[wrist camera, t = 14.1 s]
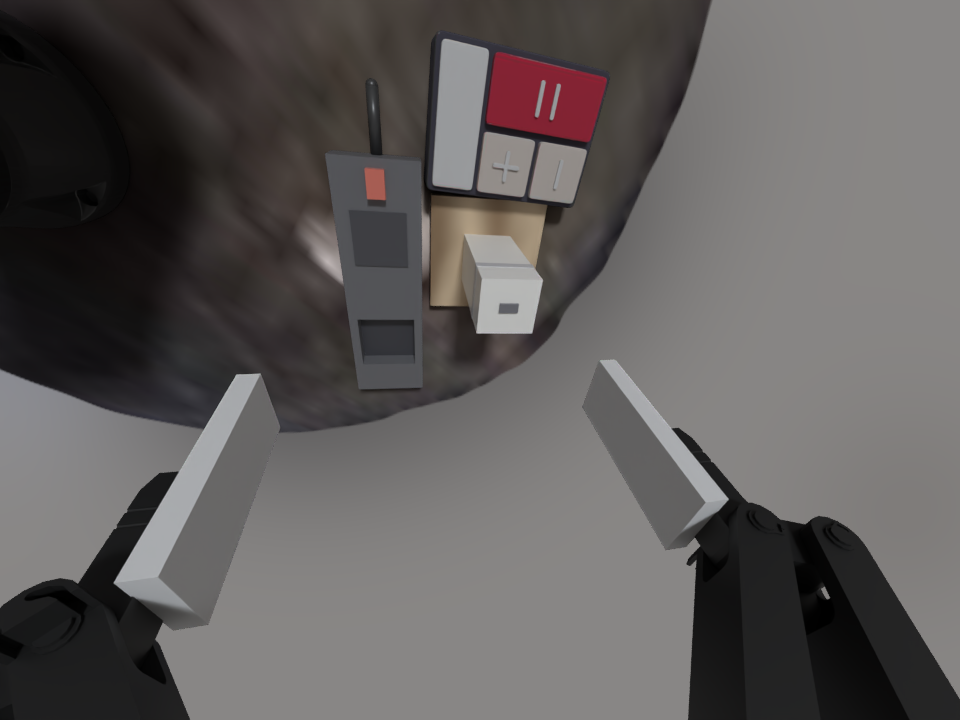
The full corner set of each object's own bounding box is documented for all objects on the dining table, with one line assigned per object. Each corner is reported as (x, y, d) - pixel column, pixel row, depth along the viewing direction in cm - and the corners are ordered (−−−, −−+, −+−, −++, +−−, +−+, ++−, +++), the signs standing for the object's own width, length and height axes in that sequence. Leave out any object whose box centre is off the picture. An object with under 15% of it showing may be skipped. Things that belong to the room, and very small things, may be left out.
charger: (460, 279, 40) (476, 335, 30) (463, 233, 37) (481, 278, 27) (504, 280, 41) (532, 335, 31) (510, 235, 38) (544, 280, 28)
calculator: (576, 210, 35) (426, 191, 31) (560, 201, 38) (423, 182, 35) (617, 71, 29) (436, 26, 25) (593, 74, 32) (431, 35, 29)
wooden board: (430, 301, 42) (430, 305, 41) (431, 192, 35) (431, 195, 34) (525, 302, 44) (528, 306, 43) (544, 200, 37) (547, 202, 36)
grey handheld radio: (422, 373, 48) (422, 391, 45) (361, 374, 47) (358, 393, 44) (420, 84, 30) (420, 81, 27) (321, 72, 29) (310, 68, 26)
